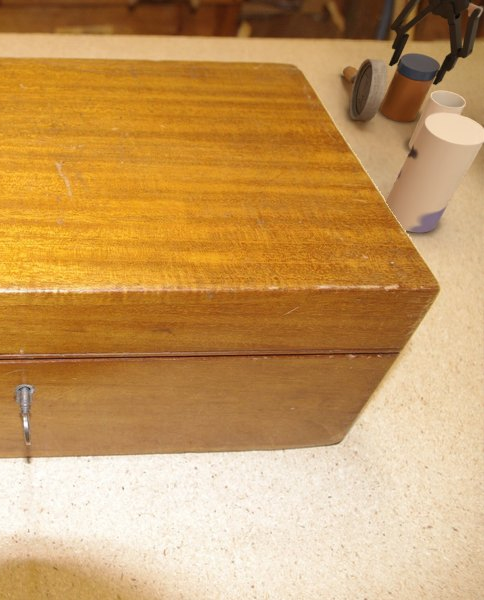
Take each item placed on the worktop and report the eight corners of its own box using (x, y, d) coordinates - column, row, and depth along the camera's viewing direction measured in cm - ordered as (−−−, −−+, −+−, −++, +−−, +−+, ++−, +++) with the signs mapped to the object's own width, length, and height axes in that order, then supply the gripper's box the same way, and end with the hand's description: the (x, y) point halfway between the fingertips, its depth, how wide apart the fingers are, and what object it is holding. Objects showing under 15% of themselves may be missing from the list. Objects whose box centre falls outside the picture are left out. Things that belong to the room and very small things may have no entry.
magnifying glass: (349, 43, 168) (377, 65, 146) (362, 44, 167) (392, 67, 146) (334, 97, 174) (359, 126, 153) (346, 98, 174) (373, 128, 153)
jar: (422, 113, 161) (445, 65, 152) (405, 125, 157) (428, 77, 149) (390, 98, 165) (411, 51, 156) (373, 111, 161) (393, 63, 153)
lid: (442, 72, 154) (446, 63, 152) (424, 84, 150) (429, 75, 148) (408, 58, 158) (411, 49, 156) (389, 70, 154) (393, 61, 152)
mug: (442, 160, 149) (468, 110, 140) (408, 155, 150) (433, 105, 141) (435, 133, 155) (460, 84, 146) (403, 129, 156) (426, 80, 147)
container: (385, 194, 140) (428, 106, 126) (438, 209, 137) (488, 120, 123) (378, 223, 134) (422, 134, 120) (434, 239, 131) (486, 150, 117)
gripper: (528, -18, 134) (471, 87, 150) (418, -54, 145) (377, 48, 161) (511, -7, 130) (455, 100, 147) (400, -44, 141) (360, 59, 158)
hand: (414, 73), depth 154 cm, fingers open, 10 cm apart
